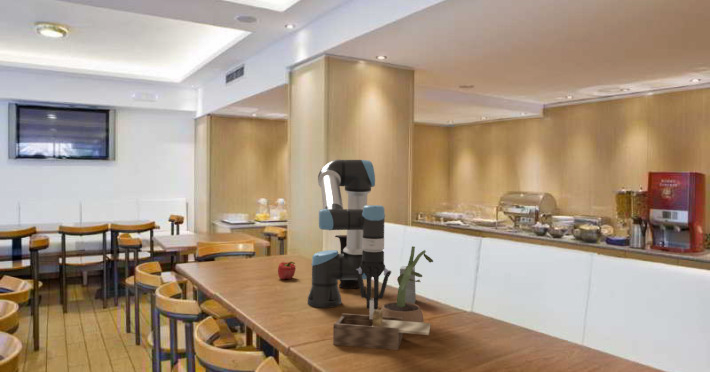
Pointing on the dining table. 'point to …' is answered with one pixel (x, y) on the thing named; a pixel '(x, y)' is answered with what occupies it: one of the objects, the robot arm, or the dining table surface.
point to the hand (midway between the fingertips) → (372, 318)
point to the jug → (343, 243)
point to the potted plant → (401, 307)
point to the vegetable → (286, 270)
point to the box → (365, 332)
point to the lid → (401, 324)
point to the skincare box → (409, 287)
